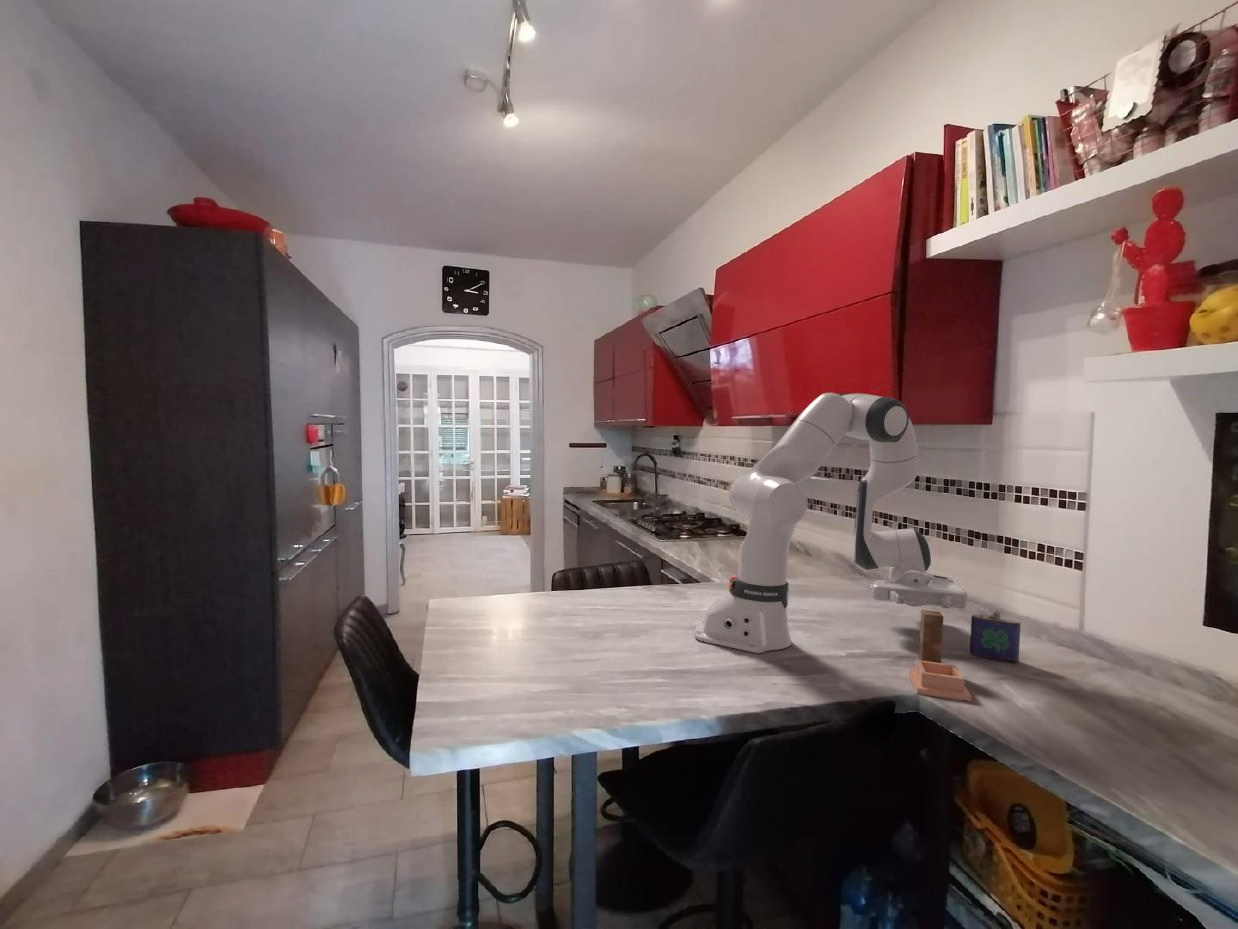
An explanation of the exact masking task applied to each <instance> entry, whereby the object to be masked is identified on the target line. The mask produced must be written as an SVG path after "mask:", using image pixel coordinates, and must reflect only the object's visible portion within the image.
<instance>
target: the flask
mask: <svg viewBox="0 0 1238 929" xmlns="http://www.w3.org/2000/svg"><path fill="white" fill-rule="evenodd" d="M1000 615H1001V611H998V610H993V614H990V615H988V614H984V615H983V613H980V614H972V615H971V619H970V620H971V623H970V639H969V640H970V641H969V642H970V643H969V655H970V656H972V657H974V656H976V658H979V657H980V659H986V660H990V661H991V660H992V661H997V662H1005V663H1009V662H1011V663H1010V664H1012V663H1015V664H1018V663H1019V661H1020V640H1021V638H1020V637H1021V623H1022V622H1020V621H1017V620H1013V619H1005V618H1001V616H1000Z"/></svg>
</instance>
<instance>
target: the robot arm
mask: <svg viewBox="0 0 1238 929" xmlns="http://www.w3.org/2000/svg"><path fill="white" fill-rule="evenodd" d="M914 428H915V427H914V425H913V423H912V420H911V419H910V417H909V413H908V410H907V408H906V406H905V404H904V403H903V402H901V401H900V400H898V399H896V398H893V397H890V396H879V395H874V394H869V393H849V392H845V393H844V392H843V393H835V392H825V393H822V394H820V395H819V396H818V397H816V398H815V399H813V400H812V402H811V403H809V405H807V407H806V408H804V410H803V411H801V413H800V414H799V415H798V417H797V418H796V419H795V420H794V421H793V423H792V424H791V425H790V426H789V428H788V429H787V430H786V432H785V433H784V434H783V436H782V437H781V438H780V440H779V441H778V442H777V443H776V445H774V447H772V449H771V450H770V451H768V452H767V454H766V455H764V456H763V457H762V458H761V459H760V460H759V461H757V463H756V464H754V465H753V466H752V467H751V468H750V469H749V470H748V471H747V472H746V473H744V474H743V475H741V476H740V477H738V478H736V479H735V480H734V481H733V482H732V484H731V485H730V488H729V492H728V496H729V497H728V498H729V502H730V504H731V505H732V507H733V508H734V509H735V511H737V512H738V513H739V514H740V515H742V516H743V517H746V518H749V524H748V529H747V530H746V531H747V532H746V536H745V538H744V539H743V541H742V542H741V543H740V546H739V550H738V552H739V554H738V576H737V575H732V576H731V577H730V578H729V585H728V586H729V588H728V589H729V592H728V593H727V594H725V595H724V596H722V597H721V598H720V599H719V598H718V600H716V601H714V602H713V603H712V604H710V605H709V607H708V608H707V610H706V613H705V617H704V620H703V621H701V622H699V623H698V624H697V625H696V627H695V629H694V633H693V636H694V635H695V636H694V638H695V639H696V638H697V639H698V640H697V639H696V640H697V641H699V640H700V642H703V641H704V642H705V643H709V644H714V645H717V644H718V646H723V647H727V648H732V649H736V650H741V651H746V652H751V653H754V654H755V653H756V654H761V653H765V652H768V651H777V650H783V649H785V648H788V647H790V646H791V645H792V639H791V635H790V630H789V628H790V627H789V622H788V616H787V615H788V614H787V613H788V611H787V610H788V608H787V607H788V606H789V605H788V604H789V599H790V598H789V595H790V593H789V592H790V588H789V582H788V581H787V580H788V563H789V562H788V558H789V550H790V545H791V542H792V538H793V534H794V531H795V528H796V526H797V524H798V523H799V522H800V521H801V520H802V519H803V518H804V516H805V515H806V512H807V510H808V497H807V494H806V492H805V491H804V489H803V488H802V487H801V486H799V484H801V483H802V482H803V481H805V480H807V479H809V478H811V477H812V476H813V475H815V474H816V473H817V472H818V471H819V469H820V468H821V466H822V465H823V464H824V462H825V461H826V460H827V459H828V457H829V456H830V455H831V453H832V452H833V450H834V449H835V448H836V446H837V445H838V444H839V442H840V441H841V439H842V437H843V436H847V437H849V438H850V437H851V438H854V439H857V440H860V441H861V440H862V441H868V442H869V456H870V465H869V469H868V470H867V472H866V475H864V476H862V477H860V480H859V482H858V487H857V495H856V506H855V520H854V531H853V538H852V541H851V547H850V548H851V549H850V550H851V556H852V558H853V561H854V564H855V565H857V566H858V567H860V568H862V569H864V570H866V571H869V570H870V571H871V570H875V569H877V570H878V569H881V568H890V569H889V575H888V579H889V580H883V579H877V580H874V581H873V583H869V584H868V587H869V589H871V590H872V599H873V600H876V601H884V602H891V603H892V602H894V603H895V604H898V605H899V604H901V605H904V604H905V605H906V606H909V607H913V608H914V607H915V608H916V607H923V606H934V607H935V606H936V607H941V608H943V609H950V608H957V609H965V608H967V606H968V593H967V592H966V590H965V589H964V588H963V587H962V586H960V585H958V584H957V583H954V579H952V578H951V577H946V576H940V575H936V574H932V573H928V572H927V571H928V570H929V568H930V566H931V564H932V562H931V561H932V560H931V558H932V557H931V550H930V547H929V545H928V544H929V543H928V541H927V539H926V537H925V536H924V535H923V534H922V533H921V532H920V531H918V530H917V529H915V528H901V529H894V530H883V531H881V530H880V531H873V530H872V524H873V515H874V514H873V513H874V507H875V506H876V504H878V503H879V502H880V501H881V500H883V499H885V498H886V497H888V496H890V495H892V494H895V493H897V492H900V491H901V490H903V489H905V488H907V487H908V486H910V484H912V483H913V482H914V481H915V479H916V478H917V477H918V474H919V471H920V458H919V456H920V455H919V446H918V441H917V436H916V432H915V429H914ZM704 642H703V643H704Z"/></svg>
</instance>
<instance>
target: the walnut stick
mask: <svg viewBox="0 0 1238 929" xmlns="http://www.w3.org/2000/svg"><path fill="white" fill-rule="evenodd" d="M943 632H944V615H943V613H941V612H940V611H935V610H928V609H927V610H926V609H921V610H920V629H919V645H918V646H919V649H918V660H921V661H928V662H936V663H942V652H943V651H942V650H943V635H944V634H943Z"/></svg>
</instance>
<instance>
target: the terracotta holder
mask: <svg viewBox="0 0 1238 929" xmlns="http://www.w3.org/2000/svg"><path fill="white" fill-rule="evenodd" d="M914 665H915V666H914V668H908V672H907V673H908V675H909V678H910V680H911V683H912V685H913V688H914V691H915V693H916V694H917V695H924V696H932V697H937V698H945V699H949V700H950V699H951V700H956V699H958V700H957V701H962V700H968V701H967V702H969V701H971V702H972V699H973V697H972V695H971V693H970V691H969V690H968V688H967V687H966V685H965V678H964V676H963V674H962V673H961V672H960V670H959V669H958V667H957V666H956V664H949V663H942V662H941V663H936V662H928V661H921V660H919V659H915V664H914Z"/></svg>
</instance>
